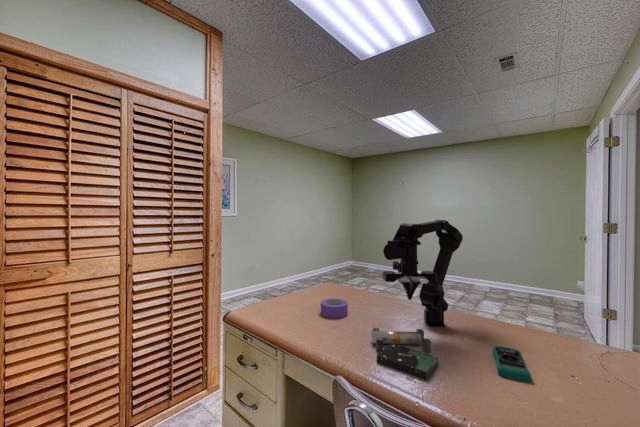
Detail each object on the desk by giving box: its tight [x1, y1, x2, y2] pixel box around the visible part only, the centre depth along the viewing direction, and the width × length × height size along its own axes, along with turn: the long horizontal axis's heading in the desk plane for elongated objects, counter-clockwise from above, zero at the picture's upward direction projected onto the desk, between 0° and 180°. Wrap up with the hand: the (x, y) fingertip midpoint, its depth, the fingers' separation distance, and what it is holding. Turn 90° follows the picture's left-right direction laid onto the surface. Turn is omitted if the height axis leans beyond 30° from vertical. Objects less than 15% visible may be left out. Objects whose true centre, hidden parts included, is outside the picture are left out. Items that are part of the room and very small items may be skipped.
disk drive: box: [376, 343, 439, 381], centre depth 82 cm, size 10×3×15 cm
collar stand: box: [372, 327, 432, 353], centre depth 94 cm, size 17×10×4 cm, turn 86°
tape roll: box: [320, 297, 349, 319], centre depth 123 cm, size 12×12×5 cm
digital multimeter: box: [492, 345, 532, 383], centre depth 81 cm, size 7×15×3 cm, turn 153°
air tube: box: [370, 330, 423, 346], centre depth 94 cm, size 16×4×4 cm, turn 87°
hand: (409, 299), depth 104 cm, fingers closed
